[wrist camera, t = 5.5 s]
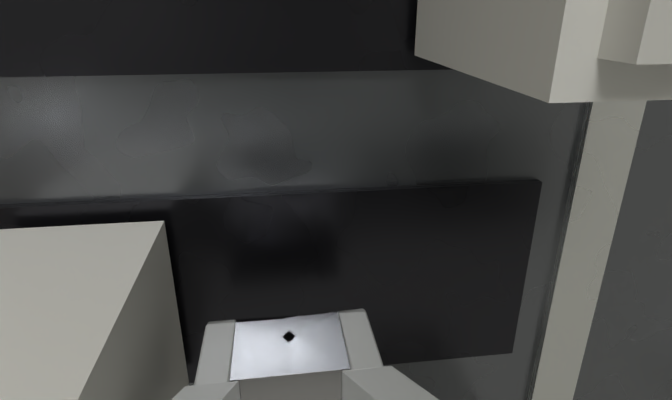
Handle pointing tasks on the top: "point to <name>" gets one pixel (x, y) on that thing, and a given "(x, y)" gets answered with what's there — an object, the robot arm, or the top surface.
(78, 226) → the breaker mid
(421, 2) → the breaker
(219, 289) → the panel
